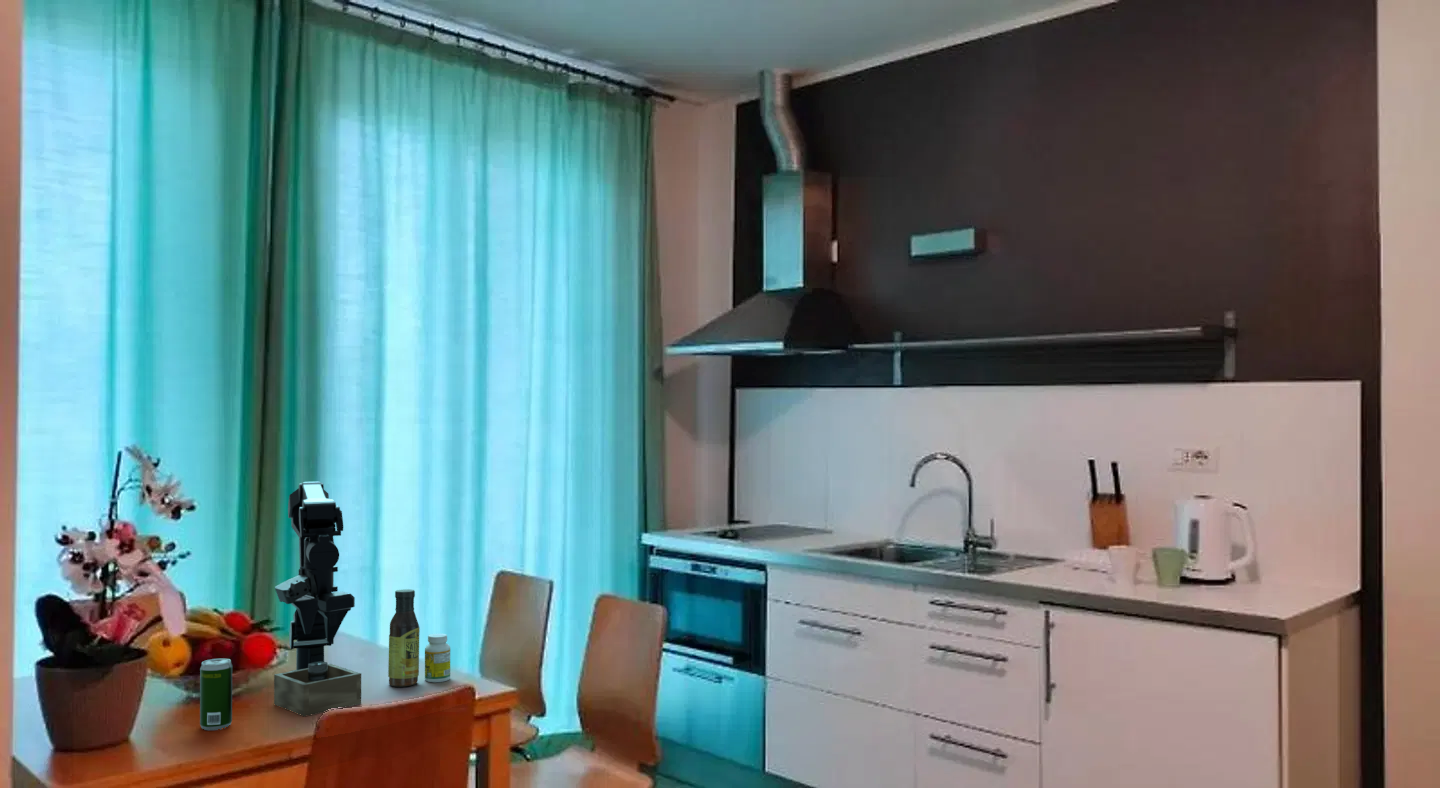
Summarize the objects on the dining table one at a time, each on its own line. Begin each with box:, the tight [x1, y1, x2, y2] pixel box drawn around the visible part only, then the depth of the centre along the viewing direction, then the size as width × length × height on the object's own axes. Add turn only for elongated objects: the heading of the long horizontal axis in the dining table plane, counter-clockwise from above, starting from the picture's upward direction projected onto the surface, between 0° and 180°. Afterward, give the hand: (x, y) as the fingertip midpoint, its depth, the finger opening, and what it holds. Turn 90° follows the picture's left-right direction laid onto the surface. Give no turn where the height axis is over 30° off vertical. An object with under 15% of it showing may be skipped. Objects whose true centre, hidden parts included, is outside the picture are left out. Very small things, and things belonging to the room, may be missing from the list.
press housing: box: [273, 663, 362, 717], centre depth 218 cm, size 12×12×6 cm
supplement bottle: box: [424, 633, 451, 683], centre depth 238 cm, size 5×5×10 cm
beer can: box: [199, 658, 233, 731], centre depth 203 cm, size 5×5×12 cm
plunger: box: [308, 661, 329, 682], centre depth 218 cm, size 9×9×7 cm
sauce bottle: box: [387, 588, 421, 688], centre depth 234 cm, size 6×6×20 cm
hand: (318, 637), depth 226 cm, fingers open, 9 cm apart
